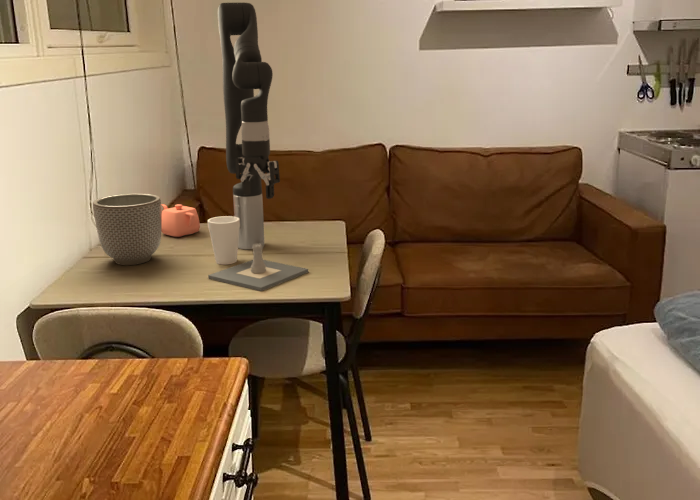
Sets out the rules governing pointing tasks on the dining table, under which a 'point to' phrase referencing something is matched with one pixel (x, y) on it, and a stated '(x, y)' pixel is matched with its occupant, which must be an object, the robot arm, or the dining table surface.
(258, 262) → the rook chess piece
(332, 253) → the dining table surface
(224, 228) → the foam cup
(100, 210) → the planter
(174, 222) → the teapot
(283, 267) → the board
